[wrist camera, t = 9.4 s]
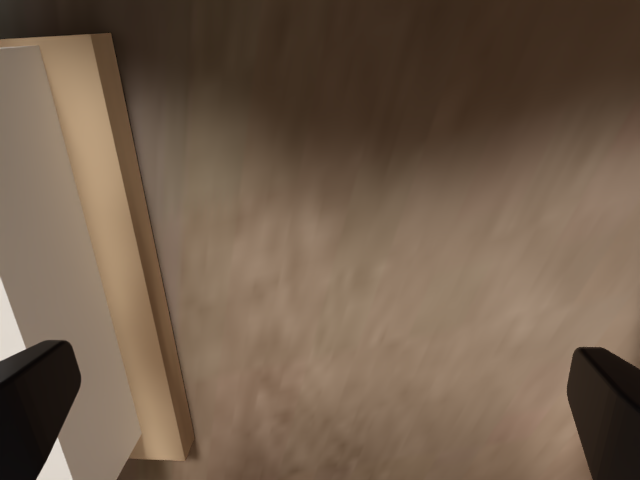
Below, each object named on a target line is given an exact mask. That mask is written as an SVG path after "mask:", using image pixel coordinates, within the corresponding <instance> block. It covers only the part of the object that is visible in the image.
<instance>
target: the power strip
mask: <svg viewBox="0 0 640 480" xmlns="http://www.w3.org/2000/svg"><path fill="white" fill-rule="evenodd" d="M45 340H66V341H68V342H70V344H71V345H72V347H73V350H74V353H75V357H76V360H77V363H78V366H79V370H80V373H81V386H80V389H79V391H78V394H77V396H76V398H75V400H74V402H73V405H72V407H71V409H70V411H69V413H68V416H67V418H66V420H65V422H64V424H63V427H62V429H61V431H60V433H59V435H58V437H57V440H56V442H55V444H54V446H53V448H52V451H51V453H50V455H49V457H48V459H47V461H46V463H45V465H44V466H43V468H42V470H41V472H40V474H39V476H38V477H37V479H36V480H117V478H118V476H119V474H120V472H121V471H122V469H123V467H124V465H125V463H126V461H127V460H128V458H129V456H130V454H131V452H132V451H133V449H134V447H135V445H136V443H137V441H138V440H139V438H140V436H141V434H142V433H141V429H140V425H139V421H138V418H137V414H136V410H135V406H134V402H133V399H132V395H131V391H130V387H129V384H128V380H127V376H126V372H125V368H124V365H123V361H122V357H121V353H120V350H119V346H118V342H117V338H116V335H115V331H114V327H113V323H112V319H111V316H110V312H109V308H108V304H107V301H106V297H105V293H104V289H103V285H102V282H101V278H100V274H99V270H98V267H97V263H96V259H95V255H94V252H93V248H92V244H91V240H90V236H89V233H88V229H87V225H86V221H85V218H84V214H83V210H82V206H81V202H80V199H79V195H78V191H77V187H76V184H75V180H74V176H73V172H72V168H71V165H70V161H69V157H68V153H67V150H66V146H65V142H64V138H63V135H62V131H61V127H60V123H59V119H58V116H57V112H56V108H55V104H54V101H53V97H52V93H51V89H50V85H49V82H48V78H47V74H46V70H45V67H44V63H43V59H42V55H41V52H40V48H39V45H36V46H18V47H1V48H0V361H2V360H4V359H6V358H8V357H10V356H12V355H14V354H16V353H19V352H21V351H23V350H25V349H27V348H29V347H31V346H33V345H36V344H38V343H40V342H42V341H45Z"/></svg>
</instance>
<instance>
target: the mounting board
mask: <svg viewBox="0 0 640 480" xmlns="http://www.w3.org/2000/svg"><path fill="white" fill-rule="evenodd" d="M36 45H39V48H40V52H41V55H42V59H43V63H44V67H45V70H46V74H47V78H48V82H49V85H50V89H51V93H52V97H53V101H54V104H55V108H56V112H57V116H58V119H59V123H60V127H61V131H62V135H63V138H64V142H65V146H66V150H67V153H68V157H69V161H70V165H71V168H72V172H73V176H74V180H75V184H76V187H77V191H78V195H79V199H80V202H81V206H82V210H83V214H84V218H85V221H86V225H87V229H88V233H89V236H90V240H91V244H92V248H93V252H94V255H95V259H96V263H97V267H98V270H99V274H100V278H101V282H102V285H103V289H104V293H105V297H106V301H107V304H108V308H109V312H110V316H111V319H112V323H113V327H114V331H115V335H116V338H117V342H118V346H119V350H120V353H121V357H122V361H123V365H124V368H125V372H126V376H127V380H128V384H129V387H130V391H131V395H132V399H133V402H134V406H135V410H136V414H137V418H138V421H139V425H140V429H141V433H142V434H141V436H140V438H139V440H138V441H137V443H136V445H135V447H134V449H133V451H132V452H131V454H130V456H129V458H128V459H151V460H176V461H185V460H186V458H187V455H188V453H189V451H190V448H191V446H192V444H193V441H194V439H195V437H194V432H193V427H192V422H191V417H190V412H189V408H188V403H187V398H186V393H185V388H184V383H183V379H182V374H181V369H180V364H179V359H178V354H177V350H176V345H175V340H174V335H173V330H172V325H171V321H170V316H169V311H168V306H167V301H166V296H165V292H164V287H163V282H162V277H161V272H160V267H159V263H158V258H157V253H156V248H155V243H154V238H153V234H152V229H151V224H150V219H149V214H148V210H147V205H146V200H145V195H144V190H143V185H142V181H141V176H140V171H139V166H138V161H137V156H136V152H135V147H134V142H133V137H132V132H131V127H130V123H129V118H128V113H127V108H126V103H125V98H124V94H123V89H122V84H121V79H120V74H119V69H118V65H117V60H116V55H115V50H114V45H113V40H112V36H111V33H100V34H82V35H65V36H48V37H30V38H13V39H0V48H1V47H18V46H36Z"/></svg>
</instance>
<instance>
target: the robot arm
mask: <svg viewBox="0 0 640 480" xmlns="http://www.w3.org/2000/svg"><path fill="white" fill-rule="evenodd" d="M80 386H81V373H80V370H79V366H78V363H77V360H76V357H75V353H74V350H73V347H72V345H71V344H70V342H68V341H66V340H45V341H42V342H40V343H38V344H36V345H33V346H31V347H29V348H27V349H25V350H23V351H21V352H19V353H16V354H14V355H12V356H10V357H8V358H6V359H4V360H2V361H0V480H36V479H37V477H38V476H39V474H40V472H41V470H42V468H43V466H44V465H45V463H46V461H47V459H48V457H49V455H50V453H51V451H52V448H53V446H54V444H55V442H56V440H57V437H58V435H59V433H60V431H61V429H62V427H63V424H64V422H65V420H66V418H67V416H68V413H69V411H70V409H71V407H72V405H73V402H74V400H75V398H76V396H77V394H78V391H79V389H80ZM567 396H568V401H569V405H570V408H571V411H572V414H573V418H574V421H575V424H576V427H577V431H578V434H579V437H580V440H581V444H582V447H583V450H584V453H585V457H586V460H587V463H588V466H589V470H590V473H591V476H592V479H593V480H640V369H638V368H637V367H635V366H633V365H632V364H630V363H628V362H626V361H625V360H623V359H621V358H620V357H618V356H616V355H615V354H613V353H611V352H610V351H608V350H606V349H604V348H601V347H579V348H577V349H576V350H575V351H574V353H573V357H572V362H571V368H570V373H569V378H568V384H567Z"/></svg>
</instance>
